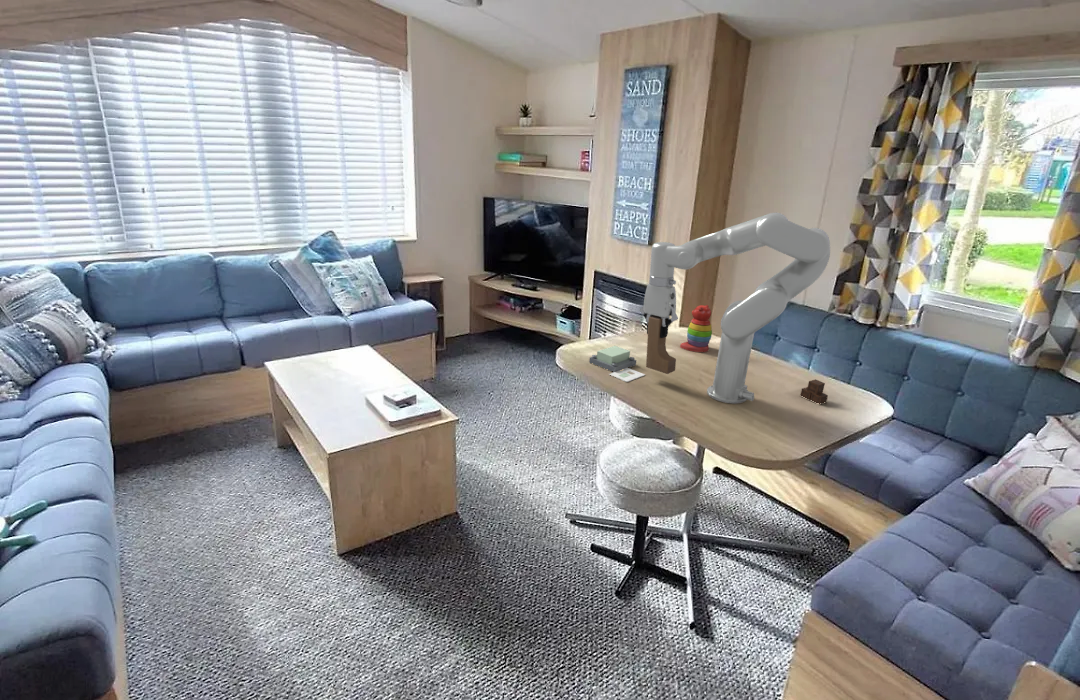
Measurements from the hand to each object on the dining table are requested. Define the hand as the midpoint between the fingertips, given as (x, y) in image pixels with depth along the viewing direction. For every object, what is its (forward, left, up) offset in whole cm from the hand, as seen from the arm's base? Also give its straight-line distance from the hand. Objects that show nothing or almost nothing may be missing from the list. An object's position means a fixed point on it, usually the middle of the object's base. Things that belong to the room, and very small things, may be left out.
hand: (656, 334), depth 189 cm
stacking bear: (+9, -42, -17) cm, 46 cm away
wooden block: (-3, -1, -12) cm, 12 cm away
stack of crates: (-42, -32, -17) cm, 56 cm away
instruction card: (+8, +3, -16) cm, 18 cm away
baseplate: (+18, -1, -16) cm, 24 cm away
